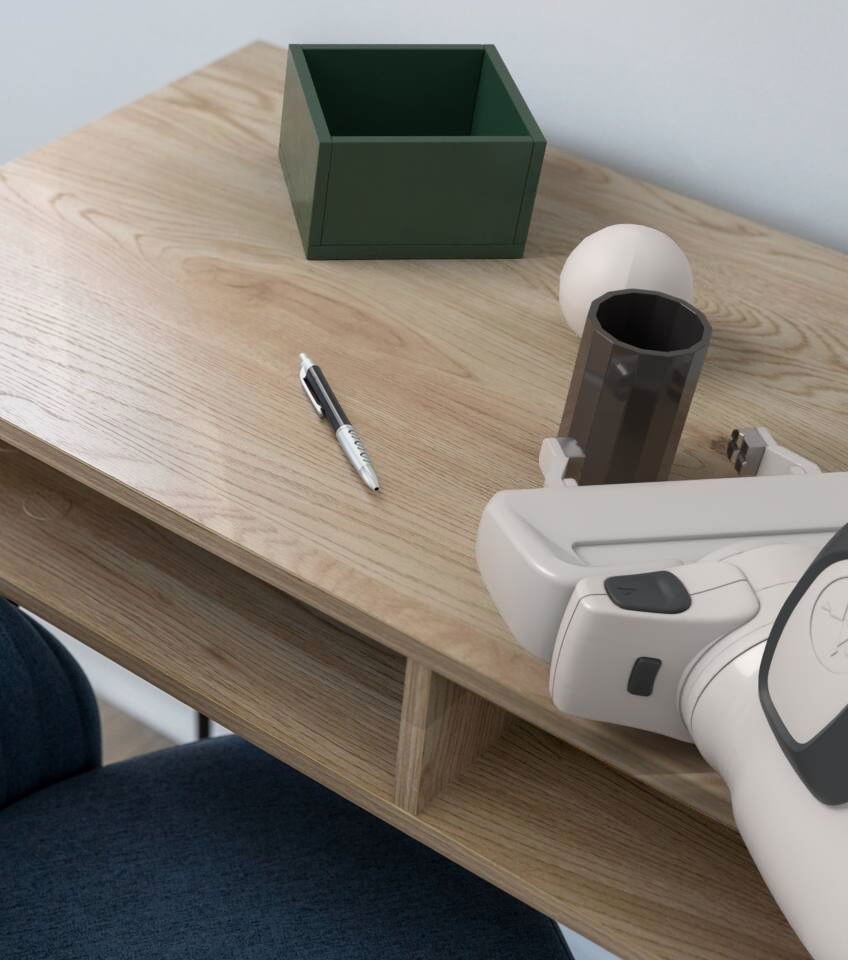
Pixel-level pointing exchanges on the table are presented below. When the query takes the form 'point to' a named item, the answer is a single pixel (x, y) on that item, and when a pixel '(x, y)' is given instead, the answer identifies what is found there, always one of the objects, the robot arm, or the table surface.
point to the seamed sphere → (622, 269)
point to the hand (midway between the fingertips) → (650, 443)
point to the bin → (408, 151)
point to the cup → (634, 384)
